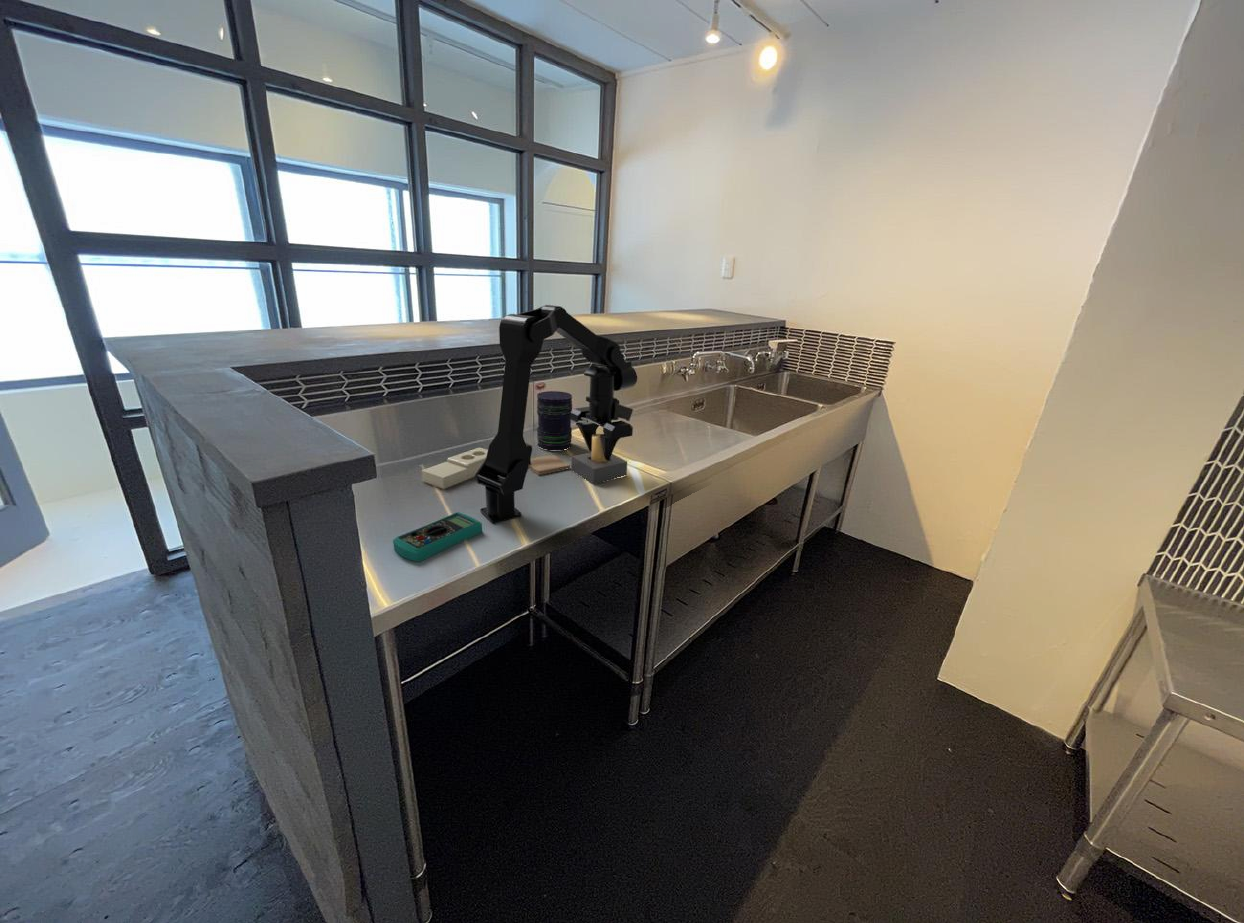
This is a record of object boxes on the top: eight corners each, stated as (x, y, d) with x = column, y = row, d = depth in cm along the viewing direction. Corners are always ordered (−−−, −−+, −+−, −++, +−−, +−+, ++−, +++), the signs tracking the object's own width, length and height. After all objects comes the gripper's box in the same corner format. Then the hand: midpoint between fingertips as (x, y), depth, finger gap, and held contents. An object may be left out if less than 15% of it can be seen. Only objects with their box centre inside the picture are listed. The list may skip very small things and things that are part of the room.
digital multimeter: (390, 552, 89) (388, 537, 88) (459, 522, 101) (458, 508, 100) (415, 566, 85) (413, 551, 84) (484, 533, 97) (483, 520, 96)
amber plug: (609, 475, 127) (611, 437, 123) (596, 478, 125) (598, 439, 121) (600, 469, 130) (602, 432, 126) (587, 472, 128) (588, 435, 124)
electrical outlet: (421, 466, 116) (479, 446, 131) (422, 482, 118) (479, 461, 132) (442, 473, 113) (499, 452, 127) (443, 490, 114) (500, 467, 129)
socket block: (626, 476, 126) (627, 461, 125) (593, 484, 121) (593, 469, 119) (603, 464, 134) (604, 449, 132) (571, 471, 128) (571, 456, 127)
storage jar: (549, 454, 139) (550, 401, 134) (530, 444, 146) (529, 393, 140) (578, 447, 145) (579, 396, 140) (558, 438, 152) (558, 389, 147)
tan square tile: (569, 468, 129) (570, 465, 129) (538, 475, 124) (538, 471, 124) (552, 458, 136) (552, 454, 136) (522, 463, 131) (522, 460, 130)
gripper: (652, 398, 118) (648, 461, 123) (606, 383, 131) (604, 439, 137) (614, 403, 111) (611, 469, 117) (570, 386, 125) (569, 446, 131)
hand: (599, 455), depth 125 cm, fingers open, 7 cm apart
